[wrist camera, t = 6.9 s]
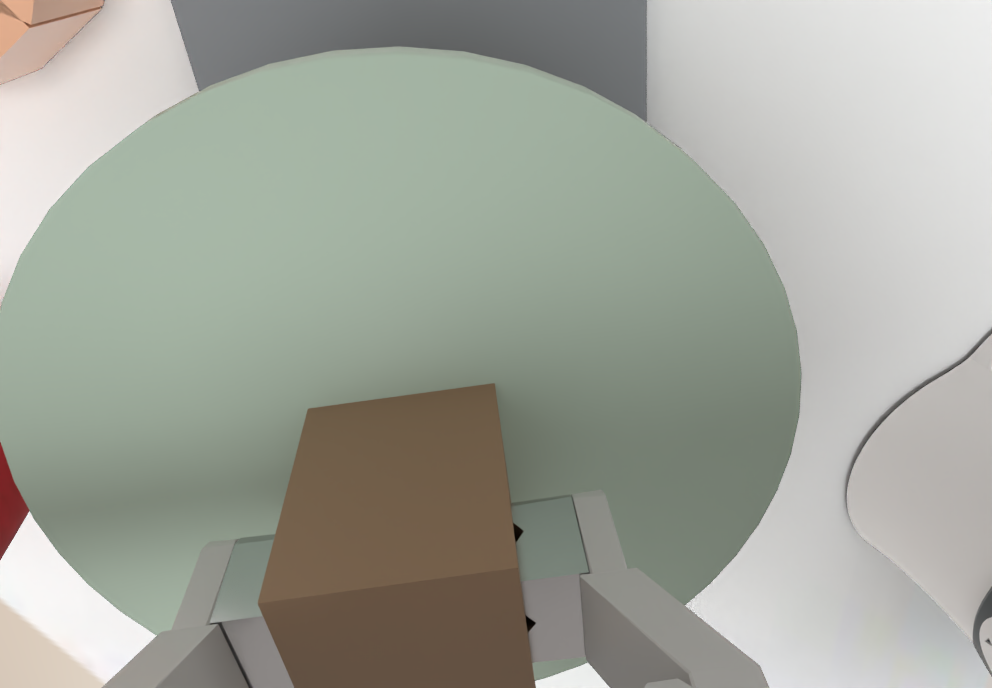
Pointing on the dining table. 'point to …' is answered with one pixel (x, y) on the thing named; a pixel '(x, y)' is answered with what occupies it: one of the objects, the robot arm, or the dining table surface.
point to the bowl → (38, 32)
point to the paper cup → (9, 505)
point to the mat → (428, 35)
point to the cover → (393, 356)
